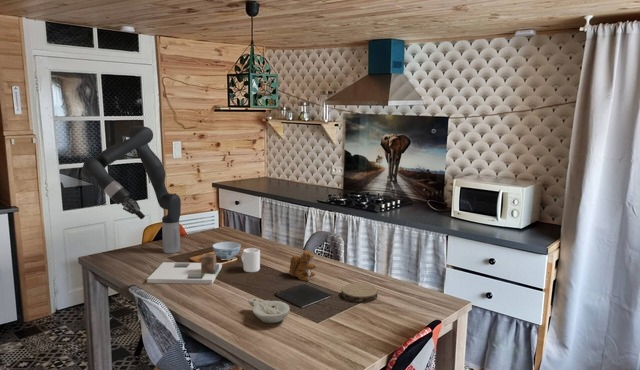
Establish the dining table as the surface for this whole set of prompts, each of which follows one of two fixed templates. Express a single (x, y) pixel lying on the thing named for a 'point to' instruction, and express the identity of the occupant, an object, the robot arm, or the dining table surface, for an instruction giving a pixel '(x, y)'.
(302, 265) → the stuffed squirrel
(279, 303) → the oil lamp
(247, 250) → the mug
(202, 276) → the pad
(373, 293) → the wood slice
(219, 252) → the chinaware
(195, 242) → the dining table surface
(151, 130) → the robot arm
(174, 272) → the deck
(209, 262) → the block
